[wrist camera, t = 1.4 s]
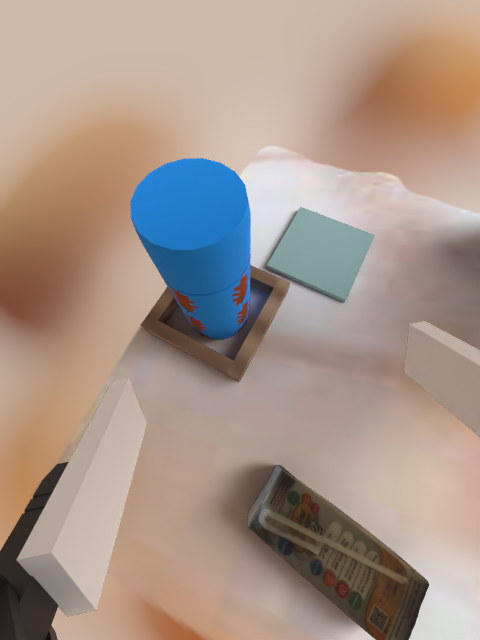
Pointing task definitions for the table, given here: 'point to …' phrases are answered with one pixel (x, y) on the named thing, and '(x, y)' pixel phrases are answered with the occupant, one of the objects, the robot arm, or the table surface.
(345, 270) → the mat
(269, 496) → the beverage carton
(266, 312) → the dock
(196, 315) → the thermos
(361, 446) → the table surface
